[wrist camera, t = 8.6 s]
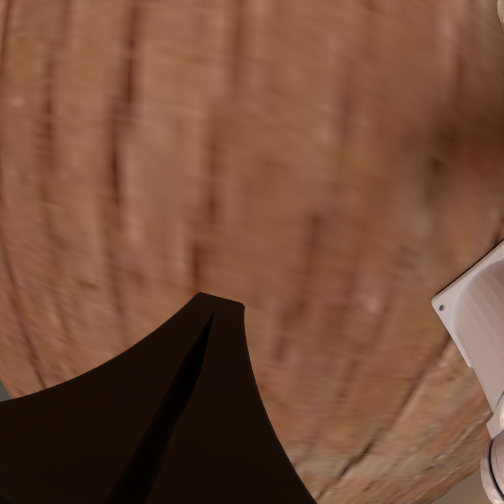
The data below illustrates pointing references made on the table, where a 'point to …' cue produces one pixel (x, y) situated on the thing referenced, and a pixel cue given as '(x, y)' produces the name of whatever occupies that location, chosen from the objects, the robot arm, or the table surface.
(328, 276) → the table surface
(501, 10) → the can
